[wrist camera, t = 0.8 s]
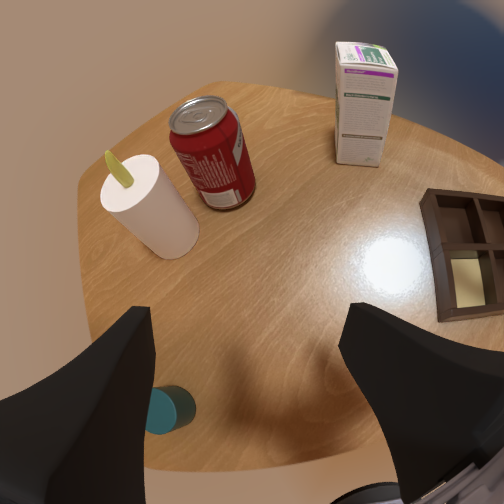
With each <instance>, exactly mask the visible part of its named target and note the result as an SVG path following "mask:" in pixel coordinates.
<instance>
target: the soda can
mask: <svg viewBox="0 0 504 504" xmlns="http://www.w3.org/2000/svg"><path fill="white" fill-rule="evenodd" d="M169 127H170V129H171V131H170V136H169V139H170V143H171V145H172V147H173V149H174V151H175V152H176V154H177V156H178V158H179V159H180V161H181V163H182V165H183V166H184V168H185V170H186V172H187V174H188V175H189V177H190V179H191V181H192V182H193V184H194V186H195V188H196V189H197V191H198V193H199V195H200V196H201V198H202V200H203V201H204V202H205V203H206V204H207V205H208V206H210V207H212V208H216V209H229V208H233V207H236V206H238V205H240V204H242V203H243V202H244V201H246V200H247V199H248V198H249V197H250V195H251V194H252V192H253V190H254V188H255V177H254V173H253V169H252V165H251V162H250V158H249V154H248V151H247V147H246V144H245V140H244V136H243V133H242V129H241V126H240V122H239V119H238V116H237V114H236V112H235V111H234V110H233V109H231V108H230V107H228V106H227V103H226V101H225V100H224V99H223V98H221V97H219V96H213V95H207V96H201V97H197V98H194V99H191V100H189V101H187V102H185V103H183V104H182V105H181V106H179V107H178V108H177V109H176V110H175V111H174V112H173V113H172V115H171V116H170V118H169Z"/></svg>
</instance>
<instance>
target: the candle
mask: <svg viewBox="0 0 504 504" xmlns="http://www.w3.org/2000/svg"><path fill="white" fill-rule="evenodd" d="M105 161H106V164H107V167H108V169H109V171H110V172H111V173H110V174H109V176H108V177H107V179H106V180H105V182H104V185H103V187H102V190H101V195H100V196H101V203H102V205H103V207H104V208H105V209H106V210H107V211H108V212H109V213H110V214H112V215H113V216H114V217H115V218H116V219H117V220H118V221H119V222H120V223H121V224H122V225H124V226H125V227H126V228H127V229H128V230H129V231H130V232H131V233H133V234H134V235H135V236H136V237H137V238H138V239H139V240H140V241H142V242H143V243H144V244H145V245H146V246H147V247H149V248H150V249H151V250H152V251H153V252H154V253H155V254H157V255H158V256H159V257H161V258H164V259H176V258H179V257H181V256H183V255H185V254H186V253H188V252H189V251H190V250H191V249H192V248H193V246H194V245H195V243H196V241H197V239H198V236H199V224H198V221H197V219H196V218H195V216H194V215H193V213H192V212H191V210H190V209H189V208H188V206H187V205H186V203H185V202H184V200H183V199H182V197H181V196H180V194H179V193H178V191H177V190H176V188H175V187H174V185H173V184H172V182H171V181H170V179H169V178H168V176H167V175H166V173H165V172H164V170H163V169H162V167H161V166H160V164H159V163H158V161H157V160H156V159H155V158H154V157H152V156H150V155H143V154H142V155H137V156H134V157H131V158H129V159H127V160H125V161H124V162H122V163H120V162H119V160H118V159H117V158H116V157H115V156H114V155H113V154H112V152H110V151H109V150H107V151H106V152H105Z"/></svg>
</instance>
